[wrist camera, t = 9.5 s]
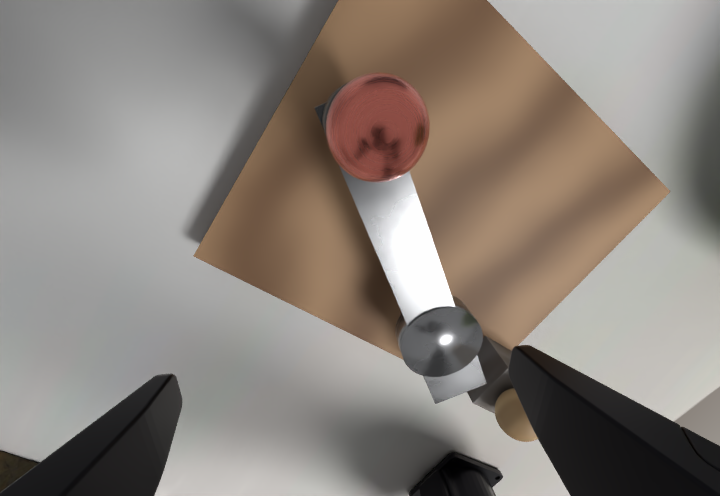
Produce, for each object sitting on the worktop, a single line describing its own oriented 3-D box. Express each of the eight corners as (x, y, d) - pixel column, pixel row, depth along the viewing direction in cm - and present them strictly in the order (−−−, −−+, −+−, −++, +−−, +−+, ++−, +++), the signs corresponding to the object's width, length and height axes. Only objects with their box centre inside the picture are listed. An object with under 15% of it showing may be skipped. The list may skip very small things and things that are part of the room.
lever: (479, 354, 22) (569, 493, 14) (415, 379, 22) (469, 530, 14) (386, 66, 14) (467, 26, 7) (292, 108, 15) (266, 117, 7)
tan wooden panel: (651, 190, 21) (802, 230, 15) (467, 379, 26) (518, 474, 20) (386, -79, 15) (445, -229, 8) (202, 245, 19) (142, 320, 13)
